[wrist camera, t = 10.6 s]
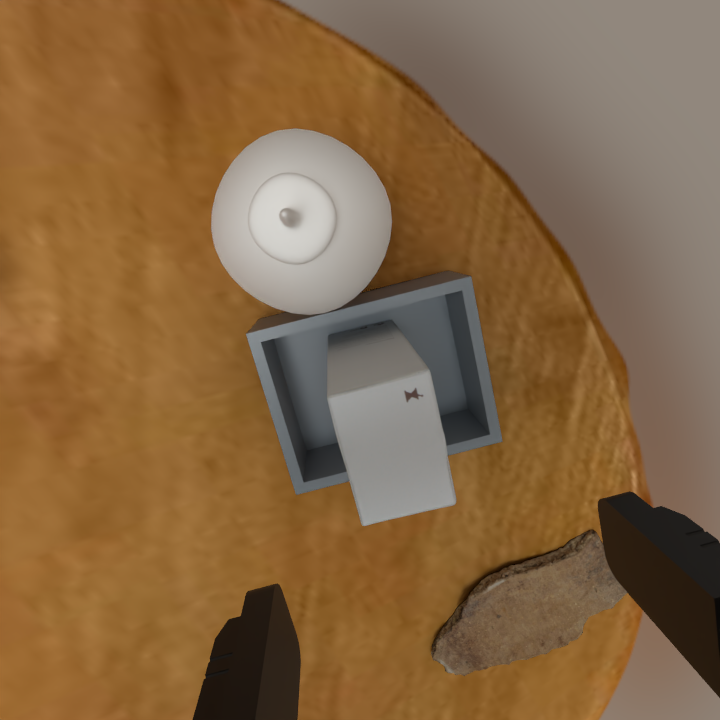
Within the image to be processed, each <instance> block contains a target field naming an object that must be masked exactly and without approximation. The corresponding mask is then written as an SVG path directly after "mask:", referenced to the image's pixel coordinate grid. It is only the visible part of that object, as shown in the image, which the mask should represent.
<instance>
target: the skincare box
mask: <svg viewBox="0 0 720 720" xmlns="http://www.w3.org/2000/svg"><path fill="white" fill-rule="evenodd" d="M327 400H328V404H329V408H330V413H331V417H332V421H333V425H334V429H335V433H336V437H337V440H338V444H339V447H340V450H341V454H342V457H343V460H344V464H345V467H346V470H347V474H348V477H349V481H350V485H351V488H352V492H353V495H354V498H355V502H356V506H357V509H358V513H359V517H360V521H361V524H362V525H363V526H367V525H370V524H374V523H378V522H382V521H386V520H390V519H395V518H399V517H404V516H408V515H412V514H417V513H421V512H425V511H430V510H434V509H438V508H443V507H448V506H453V505H455V504H456V495H455V490H454V485H453V481H452V475H451V470H450V465H449V460H448V455H447V446H446V440H445V435H444V432H443V428H442V423H441V418H440V414H439V409H438V404H437V400H436V395H435V390H434V386H433V381H432V377H431V373H430V370H429V369H428V367H427V366H426V364H425V363H424V361H423V360H422V359H421V357H420V356H419V355H418V354H417V352H416V351H415V350H414V348H413V347H412V345H411V344H410V343H409V342H408V340H407V339H406V338H405V336H404V335H403V333H402V332H401V331H400V329H399V328H398V327H397V325H396V324H395V323H394V321H393V320H388V321H384V322H380V323H376V324H371V325H367V326H363V327H359V328H355V329H351V330H347V331H343V332H339V333H335V334H330V335H328V356H327Z"/></svg>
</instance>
